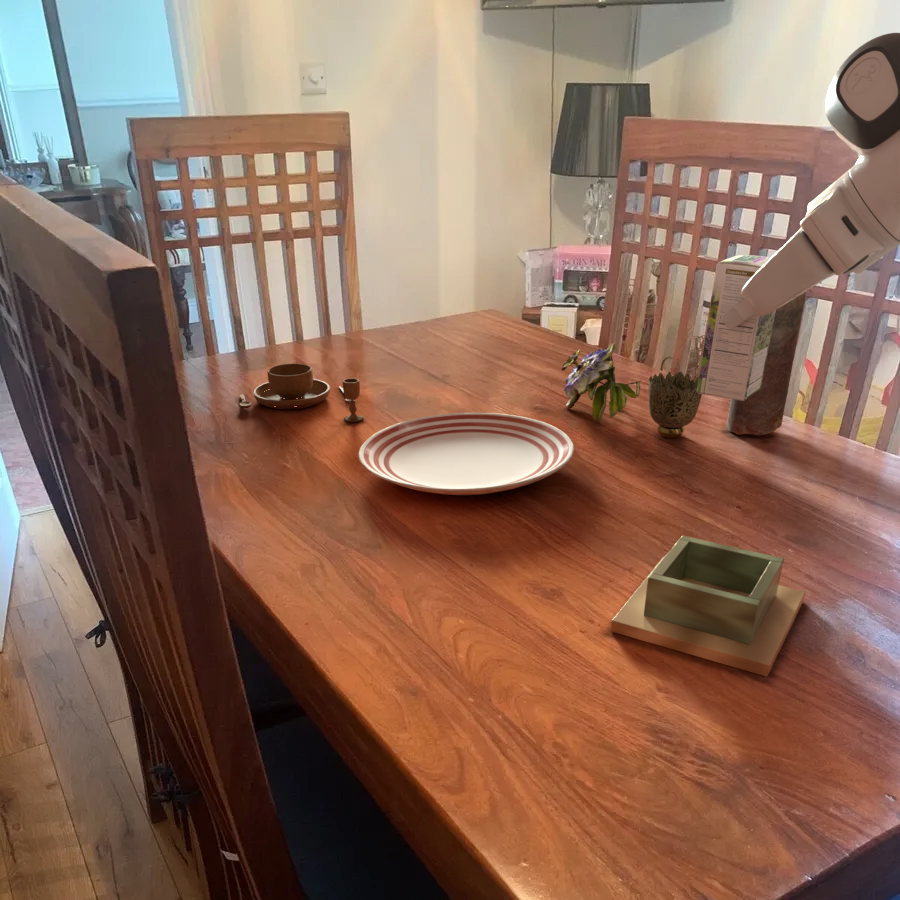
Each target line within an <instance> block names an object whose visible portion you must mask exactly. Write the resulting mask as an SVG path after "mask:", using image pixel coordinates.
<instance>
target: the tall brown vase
mask: <svg viewBox="0 0 900 900" xmlns="http://www.w3.org/2000/svg"><path fill="white" fill-rule="evenodd" d="M806 294H807V292H806V291H805V292H804V293H802V294H801V295H799V296H797V297H796V298H794V299H793V300H791V301H789V302H788V303H786V304H785V305H783V306H781V307H780V308H778V309H776V313H775V317H774V323H773V328H772V333H771V338H770V343H769V348H768V353H767V359H766V364H765V369H764V374H763V379H762V384H761V388H760V389H759V390H758V391H757V392H755V393H754V394H753V395H751V396H750V397H749V398H747V399H746V400H745V401H741V400H735V399H729V400H730V401H729V409H728V413H727V420H726V425H725V428H726V430H727V431H728V432H730V433H734V434H736V435H740V436H741V435H744V434H745V435H754V436H755V435H756V436H763V435H764V436H765V435H768V434H770V433H773V432H776V431H777V430H778V429H779V428H781V427H782V424H783V419H784V415H785V407H786V404H787V399H788V393H789V388H790V387H789V386H790V382H791V381H790V380H791V376H792V370H793V364H794V359H795V354H796V353H795V352H796V349H797V343H798V337H799V333H800V327H801V322H802V317H803V311H804V306H805V301H806Z"/></svg>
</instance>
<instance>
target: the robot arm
mask: <svg viewBox="0 0 900 900" xmlns="http://www.w3.org/2000/svg"><path fill="white" fill-rule="evenodd" d="M824 104H825V106H824V107H825V108H824V109H825V110H824V111H825V116H826V118H827V120H828V122H829V124H830V127H831V129H832V131H833V132H834V134H835V135H836V136H837V137H838V138H839V139H840V140H841V141H842V142H843V143H845V144H846V145H847V146H848V147H849V149H851V151H852V152H853V153H854V154H856V155H857V156H858V158H857V161H856V162H855V164H854V165H853V166H852V167H850V168H849V169H848V170H847V171H845V172H844V173H843V174H842V175H841V176H839V177H838V178H837V179H836V180H835V181H833V182H832V183H831V184H830V185H828V187H827V188H825V189H824V190H823V191H821V193H820V194H818V195H817V196H816V197H815V198H814V199H812V200H811V201H810V202H809V203H808V204H807V210H806V211H807V212H806V214H805V216H804V217H803V218H802V220H801V221H800V222H799V226H800V228H798V229H797V231H796V232H795V233H794V234H793V235H792V236H791V237H790V238H789V239H788V240H787V241H786V243H784V244H783V246H781V247H780V248H779V249H778V250H777V251H776V252H775V253H774V254H773V255H772V256H771V257H769V258H770V259H769V260H768V261H767V262H766V263H765V264H764V265H763V266H762V267H761V268H760V269H759V270H758V271H757V272H756V273H755V274H754V275H753V276H752V277H751V278H750V280H749V281H748V282H747V283H746V284H745V285H744V287H743V288H742V290H741V293H742V295H743V296H744V297H743V298H742V299H741V300H740V301H739V302H738V303H737V304H736V305H735V306H734V307H733V308H732V309H731V310H730V311H728V312H727V313H726V314H725V315H724V316H723V317H722V321H723V322H724V324H725V325H726V326H727V328H728V329H730V330H732V329H734V328H735V327H737V326H738V325H739V324H741V323H742V322H743V321H745V320H746V319H748V318H749V317H751V316H752V315H754V314H755V313H756V314H757V315H758V316H760V317H762V316H765V315H767V314H769V313H771V312H773V311H775V310H776V309H778V308H780V307H781V306H783V305H785V304H786V303H788V302H789V301H791V300H793V299H794V298H796V297H797V296H799V295H801V294H802V293H804V292H805V293H806V292H807V291H808V290H810V289H812V288H813V287H815V286H817V285H818V284H820V283H822V282H823V281H825V280H827V279H829V278H831V277H833V276H839V277H840V276H842V275H844V274H847V273H854V274H857V275H859V274H861V273H863V272H864V271H866V270H867V269H869V268H870V267H871V266H872V265H874V264H875V263H877V262H879V260H880V259H882V258H883V257H885V256H886V255H887V254H888V253H890V252H891V251H893V250H894V249H895V248H896V247H898V246H899V245H900V32H890V33H885V34H881V35H879V36H876V37H874V38H872V39H870V40H868V41H866V42H865V43H863V44H862V45H860V46H858V48H856V49H855V50H854V51H853V52H852V53H851V54H850V55H849V56H847V58H846V59H845V60H844V61H843V62H842V64H841V65H840V67H839V68H838V69H837V70H836V72H835V74H834V76H833V78H832V80H831V82H830V84H829V87H828V89H827V93H826V97H825V103H824Z"/></svg>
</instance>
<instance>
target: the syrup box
mask: <svg viewBox="0 0 900 900" xmlns="http://www.w3.org/2000/svg"><path fill="white" fill-rule="evenodd" d="M770 258H771V257H768V256H763V255H752V254H750V255H749V254H742V255H734V256H731V257H728V258H726V259H723V260H721V261H719V262H717V263H716V267H715V273H714V279H713V285H712V291H711V298H710V304H709V311H708V317H707V323H706V329H705V336H704V343H703V349H702V356H701V361H700V368H699V374H698V377H699V380H698V386H697V392H698V393H699V394H702V395H704V396H709V397H710V396H711V397H717V398H723V399H729V400H731V399H735V400H741V401H745V400H746V399H747V398H749V397H750V396H751V395H753V394H754V393H755V392H757V391H758V390H759V389H760V388H761V384H762V379H763V374H764V369H765V364H766V359H767V353H768V348H769V343H770V338H771V333H772V328H773V323H774V317H775V313H776V310H775V311H773V312H771V313H769V314H767V315H765V316H762V317H760V316H758V315H757V314H756V313H755V314H754V315H752V316H751V317H749V318H748V319H746V320H745V321H743V322H742V323H741V324H739V325H738V326H737V327H735V328H734V329H732V330H730V329H728V328H727V326H726V325H725V324H724V322H723V321H722V317H723V316H724V315H725V314H726V313H727V312H728V311H730V310H731V309H732V308H733V307H734V306H735V305H736V304H737V303H738V302H739V301H740V300H741V299H742V298H743V297H744V296H743V295H742V293H741V290H742V288H743V287H744V285H745V284H746V283H747V282H748V281H749V280H750V278H751V277H752V276H753V275H754V274H755V273H756V272H757V271H758V270H759V269H760V268H761V267H762V266H763V265H764V264H765V263H766V262H767V261H768V260H769V259H770Z"/></svg>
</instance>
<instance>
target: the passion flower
mask: <svg viewBox="0 0 900 900" xmlns="http://www.w3.org/2000/svg"><path fill="white" fill-rule="evenodd" d="M615 349H616V343H610V344H609V346H608V347H607V349H604V347H601V348H598V349H597V350H596V349H595V350H594V351H591V352H590V353H587V354H586V356H584V355H583V356H582V360H581V361H580V363H579V362H578V358H579V355H580V353H582V349H581V348H579V349H578V350H576V351H574V352H573V353H572V354H571V355H569V357H568V358H567V360H566V361H564V363H563V365H562V367H561V368H560V369H561V370H560V371H561V372H563V371H565V370H566V369H567V368H568V367H570V366H572V365H575V366H574V367H573V369H572V372H571V373H570V374H569V375H568V377H566V378H565V380H564V382H565V386H564V388H563V391H564V394H565V396H566V397H568V401H567V403H566V404H565V406H564V407H565V408H566V409H572V408H573V407H575V405H576V403H577V402H578V401H579V400H580V398H581V396H582V395H584V394H586V393H588V394H587V396H588V398H589V400H590V401H592V416H593V420H595V421H597V422H598V424H601V423H602V417H603V414H604V412H605V410H606V407H607V398H608V397H607V393H608V391H609V402H608V403H609V404H608V406H609V408H608V411H609V419H612V418H613V417H615V416H616V415H617V414H618V413H621V412H622V411H623V410H624V409H625V407H626V405H627V401H628V397H629V398H632V399H637V397H639V396H640V391H641V383H642V380H638V381H633V382H628V383H623V382H616V374H615V370H616V367H615V366H614V358H613V353H614V351H615ZM603 380H606V381H605V382H602V381H603ZM599 384H601V385H599ZM635 384H636V386H635V388H636V390H633V389H632V387H630V385H635ZM598 385H599V386H598Z"/></svg>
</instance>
